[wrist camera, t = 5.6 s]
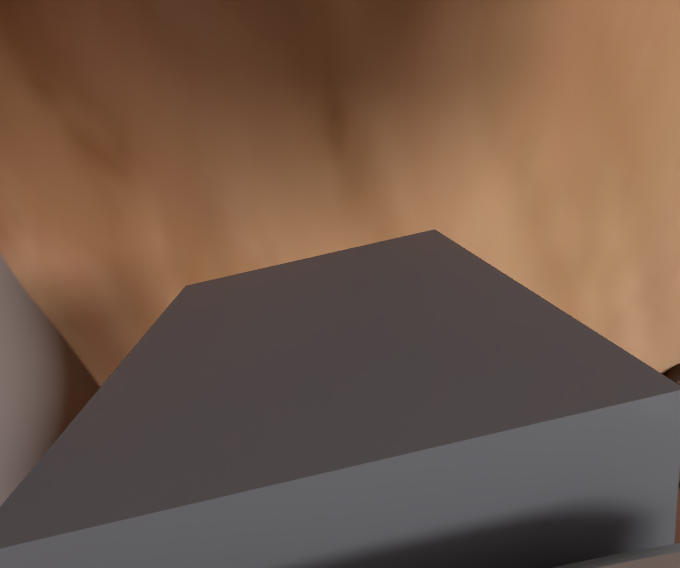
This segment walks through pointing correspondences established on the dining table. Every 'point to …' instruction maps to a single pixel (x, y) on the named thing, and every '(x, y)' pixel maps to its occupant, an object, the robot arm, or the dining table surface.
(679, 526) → the robot arm
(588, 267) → the dining table surface
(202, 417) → the matte gray cube
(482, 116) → the dining table surface
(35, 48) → the dining table surface
